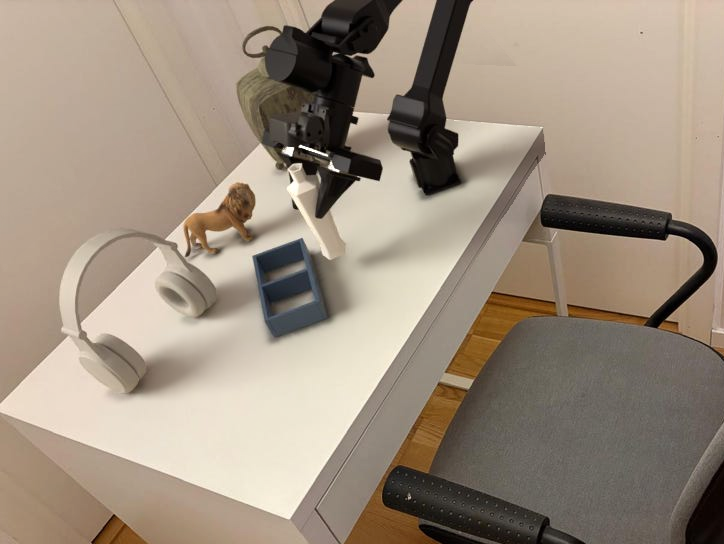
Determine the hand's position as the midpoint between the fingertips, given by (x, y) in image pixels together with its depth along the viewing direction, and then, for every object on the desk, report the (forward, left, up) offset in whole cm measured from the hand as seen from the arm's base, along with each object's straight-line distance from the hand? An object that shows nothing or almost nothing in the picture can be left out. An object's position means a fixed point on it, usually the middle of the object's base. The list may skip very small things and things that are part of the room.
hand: (307, 213), depth 104 cm
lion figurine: (+15, -18, -12) cm, 27 cm away
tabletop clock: (-2, -32, -12) cm, 35 cm away
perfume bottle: (-1, -1, -8) cm, 9 cm away
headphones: (+27, +2, -12) cm, 29 cm away
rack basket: (+7, +1, -12) cm, 14 cm away
